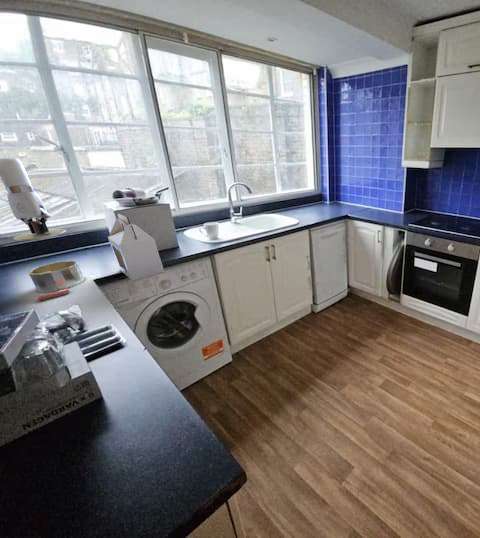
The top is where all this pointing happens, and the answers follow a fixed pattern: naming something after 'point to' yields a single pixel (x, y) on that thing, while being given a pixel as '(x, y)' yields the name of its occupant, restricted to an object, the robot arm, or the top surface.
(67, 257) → the top surface
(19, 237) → the caddy lid
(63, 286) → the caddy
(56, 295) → the red rod
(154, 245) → the gable box
